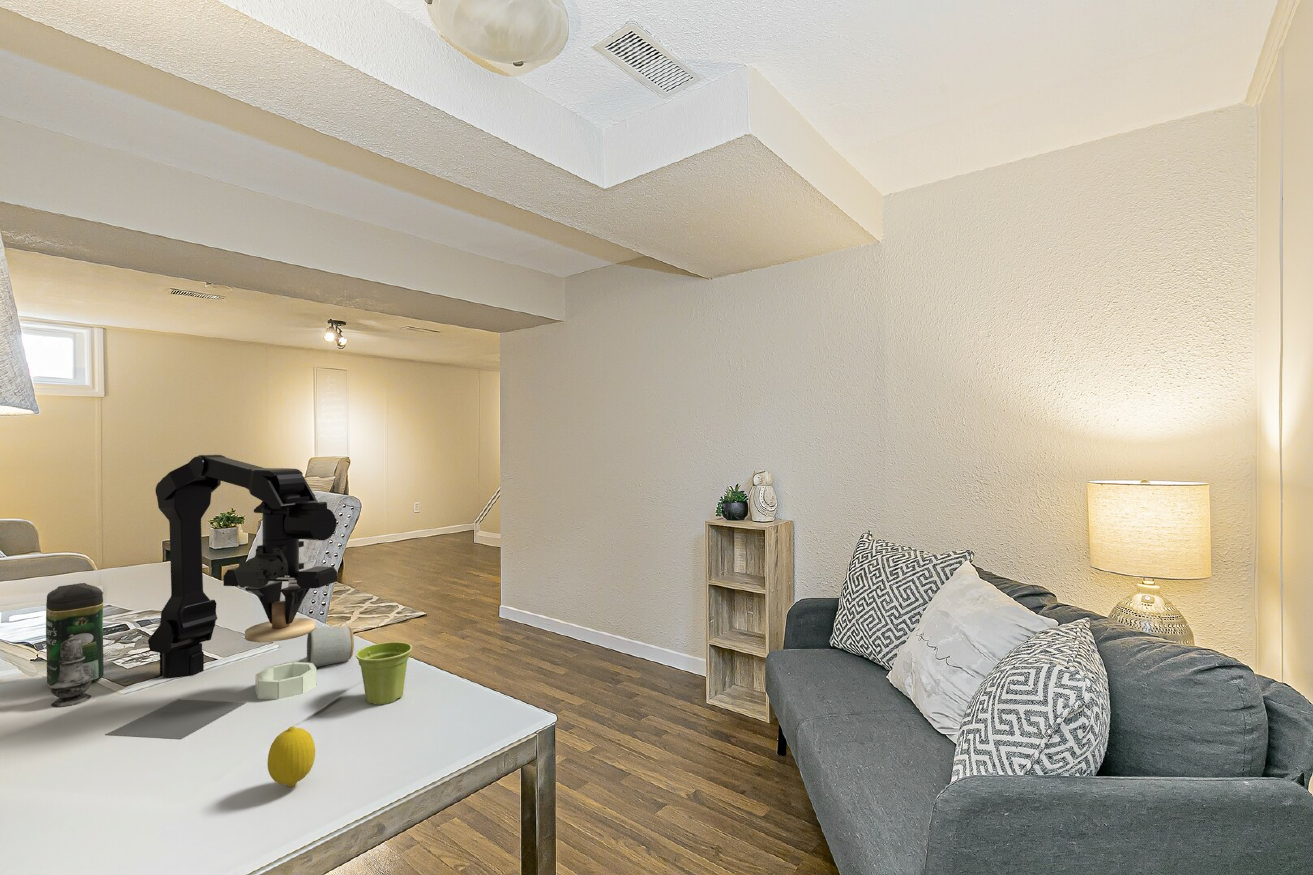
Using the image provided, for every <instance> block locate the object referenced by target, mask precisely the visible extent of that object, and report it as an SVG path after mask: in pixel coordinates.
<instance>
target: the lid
mask: <svg viewBox="0 0 1313 875" xmlns="http://www.w3.org/2000/svg"><path fill="white" fill-rule="evenodd" d="M315 628H316V621H315V620H314V619H311V618H305V617H304V618H303V617H295V618H294V620H293V622H292V623H291V624H286V619H285V600H280V601H278V602H274V603H272V624H271V623H270V622H269V621H265V622H261V623H258V624H255V625H253V626H250V627H248V628H246V629H245V630H244V639H245V640H246V641H248V642H251V643H273V642H281V641H286V640H292V639H296V638H301V637H303V636H307V635H308V633H311V632H312V631H314V630H315Z"/></svg>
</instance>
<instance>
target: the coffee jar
mask: <svg viewBox="0 0 1313 875" xmlns="http://www.w3.org/2000/svg"><path fill="white" fill-rule="evenodd" d="M45 608H46V609H45V643H46V644H45V645H46V683H47V684H48V685H49V684H50V683H52V682H54V681H56V680H57V679H58V678H59V674H60V664H58V663H57V662H58V661H59V660H60V646H61V644H62V643H63V642H64V641H66V640H68V639H70V637H69V636H70V635H71V634H73V638H75V639H80V640H81V641H82V656H85V659H83V671H84V673H85V674H86V675H92V676H93V677H94V678H93V679H92V680H91V684H92V683H94V682H97V681H100V680H101V679H102V678H103V677H104V672H105V670H104V662H105V661H104V592H103V590H102V589H101V588H100V587H97V586H95V585H91V584H88V583H85V582H82V583H73V584H67V585H60V586H57V587H56V588H55V589H53V590H51V591H50V592H48V594H47V595H46V605H45ZM100 678H101V679H100ZM99 679H100V680H99Z"/></svg>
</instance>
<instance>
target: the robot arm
mask: <svg viewBox="0 0 1313 875" xmlns="http://www.w3.org/2000/svg"><path fill="white" fill-rule="evenodd" d="M222 482H224V483H227V484H231V485H234V486H237V487H241V488H245V489H246V490H248V491H249V495H251V496H252V497H255V498H256V499H258V500H260V501H261V502H260V503H259V505H257V506H256V507H255V508H254V509H253V513H254V514H262V518H261V519H262V520H261V521H262V524H261V526H262V531H261V532H262V538H261V540H262V544H259V545H256V549H255V555H254V556H253V557H251V558H249V559H247V560H246V561H245V562H243V563H241V565H239V566H237V567H233V568H230V569H227V570H226V572H225V574H223V576H222V577H223V579H222V580H223V587H239V588H241V589H243V588H244V590H245V591H247V592H251V594H253V595H255V596H256V597H258V600H259V602H260V603H261V605H262V608H263V610H264V613H265V614H266V617H267V619H268V622H270V623H271V624H272V603H274V602H278V601H281V597H282V595H283V596H284V601H285V619H286V624H291V623H292V622H293V620H294V618H296V615H297V613H298V612H299V610H300V607H301V605H302V603H303V601H304V599H305V597H306V596H307V594H308V592H309V591H310V589H319V588H322V587H324V586H327V585H331V584H334V583H336V582H338V570H336V568H335V567H334V566H323V565H321V566H319V565H318V566H313V567H310V568H306V569H305V563H304V562H300V549H301V548H303V547H305V541H306V540H307V541H321V542H322V541H326V540H329V539H330V538H331V537H332V536H333V535H334V534H335V531H336V529H337V525H338V524H337V523H338V521H337V520H338V519H337V517H336V516H335V513H334V512H333V511H332V510H331V509H329V508H328V503H327V501H318V500H317V498H316V495H315V494H314V492H313V491H312V489H311V487H310V486H309V483H308V482H307V480H306V478H305V477H304V476H303V472H302V470H300V469H298V468H283V467H281V468H280V467H278V468H275V467H273V468H271V467H262V466H258V465H255V464H251V463H248V462H244V461H239V460H237V459H232V458H229V457H227V456H225V455H221V454H199V455H197V456H194V457H192V458H191V460H189V462H187V463H186V464H183V465H181V466H179V467H177V468H175V469H173V470H171V471H169V472H168V473H167V474H166V475H165V476H164V477H162V478H161V480H160V481H159V482H157V484H156V486H155V496H156V499H157V500H156V501H157V507H158V509H159V511H160V512H161V513H162V514H163V516H164V517H165V518H166V519H167V520H168V522H169V523H168V524H169V552H170V553H169V554H170V555H169V556H170V559H169V560H170V587H171V588H170V589H171V591H170V592H171V593H170V594H171V595H170V597H169V598H168V600H167V602H166V604H165V605H164V606H163V609H161V612H160V621H159V622H160V623H159V625H158V626H157V627H156V629H155V630H154V631H153V633H152V635H151V636H150V637H149V638H148V640H147V645H148V648H149V651H150V652H154V653H159V676H162V678H165V679H177V678H183V677H193V676H196V675H198V674H200V673H203V672H204V671H205V669H204V668H205V666H204V664H205V662H204V660H205V657H204V654H205V652H204V651H203V643H204V642H208V641H211V640H212V636H213V634H214V630H215V629H214V628H215V627H216V621H217V620H218V616H217V602H216V600H215V599H210V598H209V597H208V596H207V594H206V593H205V592H204V582H203V581H204V579H203V578H204V577H203V576H204V574H203V573H204V572H203V542H202V539H203V536H202V519H203V516H204V515H205V514H206V512H207V510H208V509H209V507H210V506H211V501H212V493H213V492H214V491H216V489H218V488H219V487H220V486H221V483H222ZM304 540H305V541H304ZM283 582H288V584H287V587H284V588H282V587H283Z"/></svg>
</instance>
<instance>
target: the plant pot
mask: <svg viewBox="0 0 1313 875" xmlns="http://www.w3.org/2000/svg"><path fill="white" fill-rule="evenodd" d="M412 650H413V645H412V644H410V643H408V642H405V641H387V642H380V643H375V644H371V645H367V646H365V647H362V648H360V649H359V650H358V651H357V652H356V653H355V654H354V655H355V658H356V659H357V661H358V665H359V666H360V669H361V675H362V676H361V677H362V683H363V688H364V696H365V700H366V703H368V704H371V703H372V704H375V705H379V706H380V705H384V704H391V703H393V702H395V701H396V700H397V699H401V698H402V697H403V696H404V690H405V683H406V682H405V681H406V674H407V673H406V672H407V666H408V660H409V658H410V654H411V652H412Z"/></svg>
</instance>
